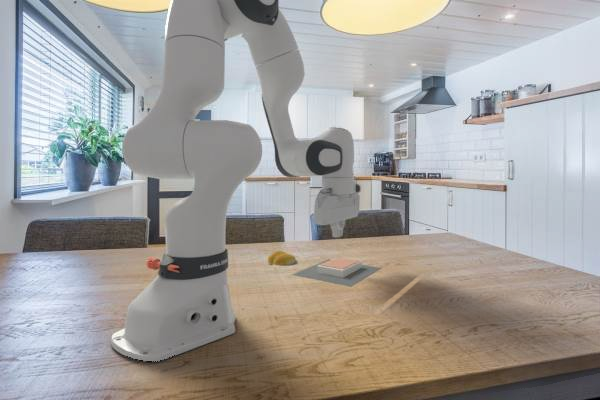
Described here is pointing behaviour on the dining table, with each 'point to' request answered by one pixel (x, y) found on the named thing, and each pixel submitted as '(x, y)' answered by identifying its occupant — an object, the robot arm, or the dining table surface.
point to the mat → (346, 280)
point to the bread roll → (281, 258)
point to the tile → (339, 267)
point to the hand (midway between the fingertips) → (337, 236)
